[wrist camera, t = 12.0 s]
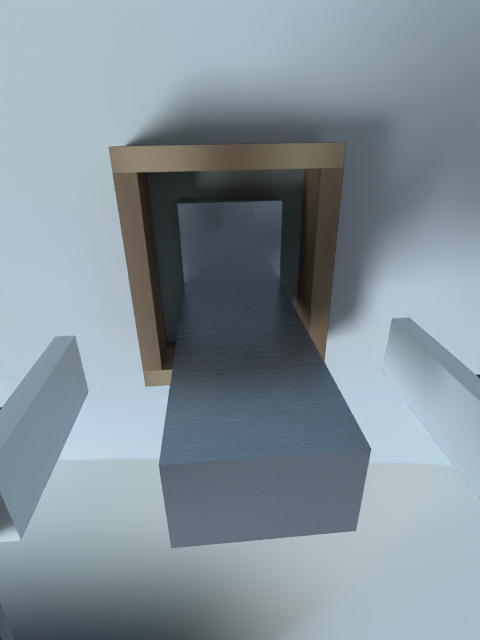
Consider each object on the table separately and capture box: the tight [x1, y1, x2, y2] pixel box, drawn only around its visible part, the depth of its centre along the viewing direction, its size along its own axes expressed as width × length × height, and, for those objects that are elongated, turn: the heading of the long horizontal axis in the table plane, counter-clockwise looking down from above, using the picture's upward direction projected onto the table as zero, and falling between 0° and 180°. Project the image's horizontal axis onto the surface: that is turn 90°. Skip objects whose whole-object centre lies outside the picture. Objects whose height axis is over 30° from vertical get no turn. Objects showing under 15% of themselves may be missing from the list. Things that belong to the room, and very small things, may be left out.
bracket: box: [159, 195, 371, 548], centre depth 15 cm, size 7×5×14 cm
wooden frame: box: [109, 142, 346, 387], centre depth 20 cm, size 10×12×4 cm
